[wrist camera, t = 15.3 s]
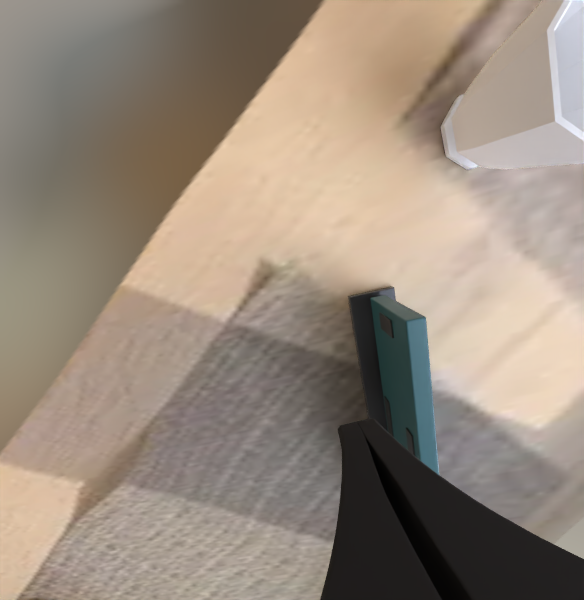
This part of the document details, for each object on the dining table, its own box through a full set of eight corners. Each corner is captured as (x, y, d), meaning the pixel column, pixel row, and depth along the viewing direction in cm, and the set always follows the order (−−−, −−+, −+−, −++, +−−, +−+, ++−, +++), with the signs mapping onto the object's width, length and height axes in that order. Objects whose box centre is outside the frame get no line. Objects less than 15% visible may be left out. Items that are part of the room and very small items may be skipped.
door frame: (423, 483, 23) (535, 669, 13) (374, 494, 23) (451, 690, 13) (399, 284, 19) (533, 339, 9) (340, 297, 19) (413, 366, 9)
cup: (395, 121, 17) (505, 22, 9) (539, -9, 16) (810, -253, 8) (458, 217, 18) (601, 204, 10) (593, 104, 17) (866, -6, 9)
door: (403, 450, 21) (443, 516, 16) (389, 454, 21) (424, 520, 16) (385, 294, 18) (426, 316, 13) (368, 297, 18) (403, 321, 13)
